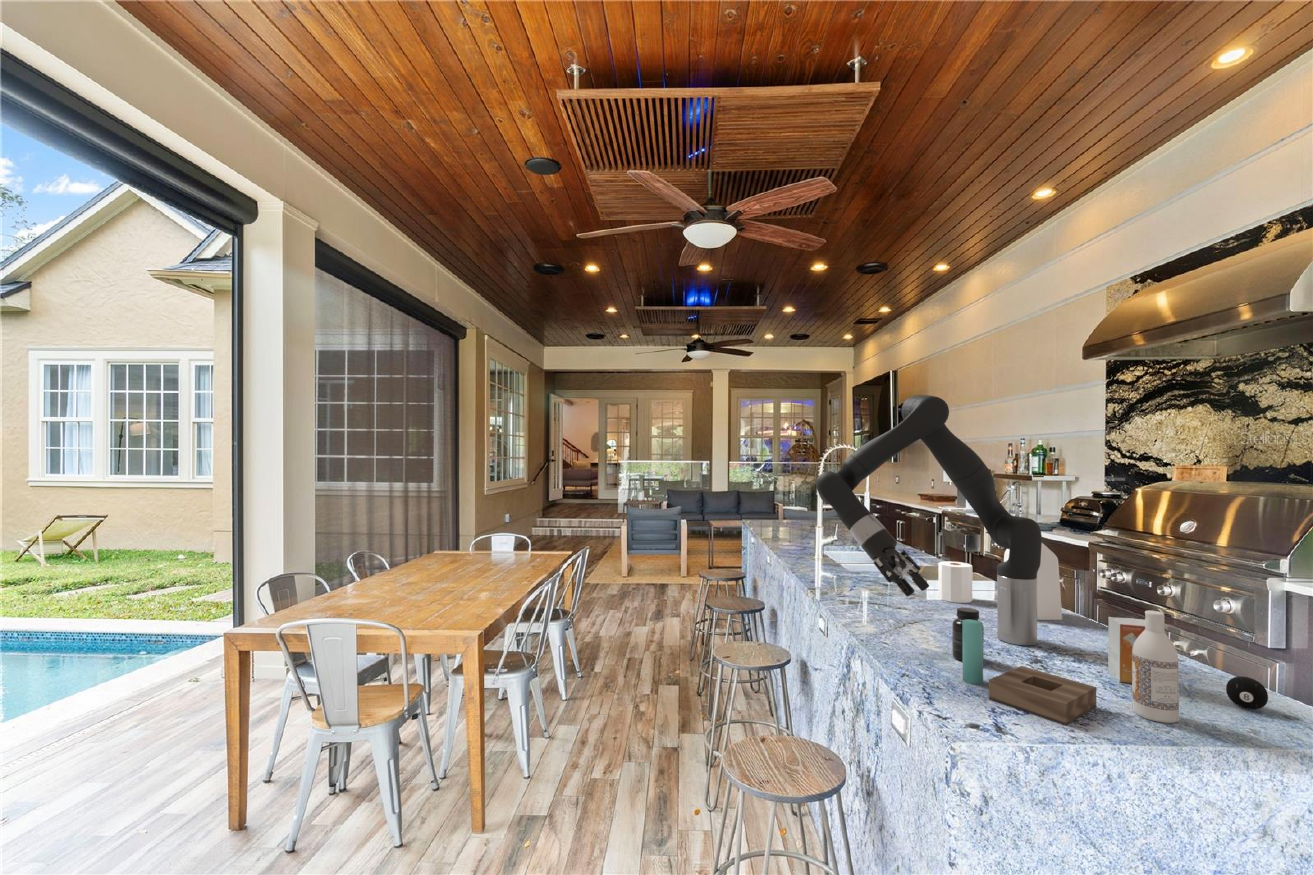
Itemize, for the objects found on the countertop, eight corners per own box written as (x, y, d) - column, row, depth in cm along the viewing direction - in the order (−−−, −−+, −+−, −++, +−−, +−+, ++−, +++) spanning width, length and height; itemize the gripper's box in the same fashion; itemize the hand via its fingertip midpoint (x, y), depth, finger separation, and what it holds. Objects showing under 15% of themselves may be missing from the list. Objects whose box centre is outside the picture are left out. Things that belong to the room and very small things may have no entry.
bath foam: (1133, 705, 121) (1132, 605, 121) (1178, 715, 116) (1177, 611, 117) (1131, 716, 116) (1130, 612, 116) (1179, 727, 111) (1178, 619, 111)
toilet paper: (966, 596, 209) (966, 561, 209) (976, 604, 199) (976, 567, 199) (935, 595, 211) (935, 560, 211) (943, 602, 201) (943, 566, 201)
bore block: (1021, 684, 131) (1021, 665, 131) (1096, 707, 120) (1096, 687, 120) (989, 699, 123) (988, 679, 123) (1065, 725, 112) (1065, 703, 112)
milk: (1062, 619, 181) (1061, 533, 181) (1023, 619, 181) (1023, 533, 182) (1037, 609, 193) (1037, 528, 193) (1001, 608, 193) (1001, 527, 194)
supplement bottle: (987, 664, 143) (987, 614, 143) (956, 662, 144) (956, 612, 145) (978, 655, 150) (978, 606, 150) (949, 653, 151) (948, 605, 151)
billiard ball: (1225, 707, 120) (1225, 677, 120) (1226, 699, 124) (1226, 669, 124) (1268, 717, 116) (1268, 686, 116) (1268, 708, 120) (1268, 677, 120)
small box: (1119, 682, 132) (1119, 623, 133) (1107, 672, 138) (1107, 616, 139) (1164, 687, 130) (1163, 627, 130) (1149, 676, 136) (1149, 619, 136)
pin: (968, 676, 136) (968, 618, 136) (986, 681, 133) (986, 622, 133) (959, 680, 134) (958, 621, 134) (977, 685, 130) (976, 625, 131)
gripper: (870, 530, 143) (918, 586, 135) (895, 525, 153) (942, 577, 145) (849, 549, 147) (894, 605, 138) (875, 543, 157) (919, 595, 148)
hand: (918, 591), depth 142 cm, fingers open, 8 cm apart
